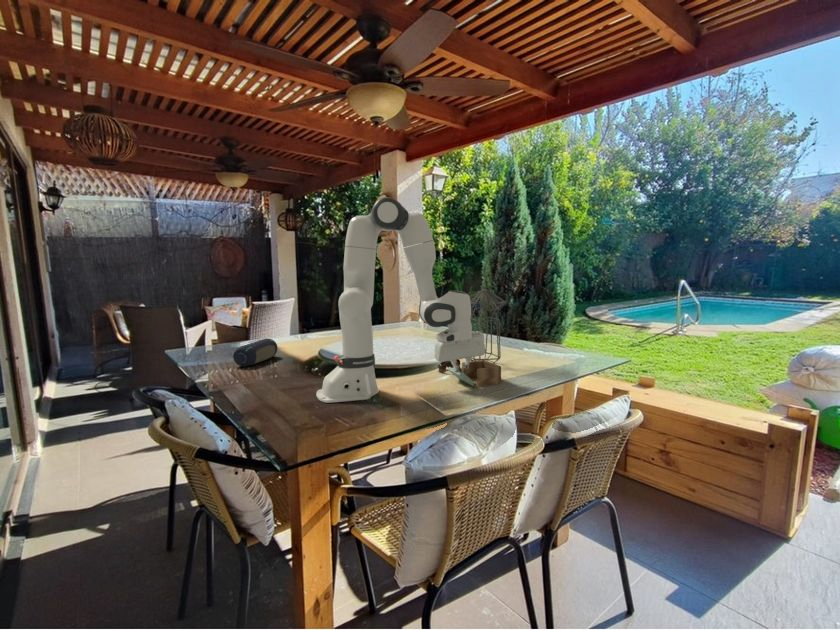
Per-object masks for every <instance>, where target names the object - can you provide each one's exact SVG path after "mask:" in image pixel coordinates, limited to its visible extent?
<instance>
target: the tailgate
mask: <svg viewBox="0 0 840 630" xmlns="http://www.w3.org/2000/svg"><path fill="white" fill-rule="evenodd" d="M447 370H448V371H449V373H451V374H452V375H454V377H456V378H457V379H458V380H459V381H461V382H463V383H466V384H467V385H470V386H471V387H473V388H476V387H477V386H476V385H477V384H475V383H474V382H473V381H472V380H471V379H470V378H469V377H467V376H466V375H465V374H464V373H462V372H459V371H454V368H451V367H449V368H448V367H447Z"/></svg>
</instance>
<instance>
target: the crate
mask: <svg viewBox="0 0 840 630" xmlns="http://www.w3.org/2000/svg"><path fill="white" fill-rule="evenodd" d="M465 362H466V361H464V362H461V371H462V373H464V374H465V375H466V376H467V377H469V378H470V379H471V380H472V381H473V382H474V383H475V384H477V385H476V386H475V387H477V388H481V387H487V386H492V385H499V384H502V366H501V365H499V364H496V363H495V364H493V362H490V361H488V360H487V361H486V360H476V361H470V363H469V369H466V370H465V369H463V364H465Z"/></svg>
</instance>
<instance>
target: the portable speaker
mask: <svg viewBox="0 0 840 630" xmlns="http://www.w3.org/2000/svg"><path fill="white" fill-rule="evenodd" d="M277 352H278V343H277V342H276V341H275V340H274V339H271V338H263V339H260V340H257V341H254V342H250V343H247V344H245V345H244V344H243V345H241V346H239V347H238V348H237V349H236V350H235V351H234V352H233V357H232V358H233V361H234V362H235V364H236V365H237V366H240V367H243V368H244V367H245V368H247V367H251V366H254V365H256V364H258V363H261V362H265V361H266V360H269V359H271V358H273V357H274V356H276V355H277Z"/></svg>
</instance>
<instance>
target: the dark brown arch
mask: <svg viewBox="0 0 840 630" xmlns="http://www.w3.org/2000/svg"><path fill="white" fill-rule="evenodd" d="M439 363H440V364H438V365H437V368H438V373H442V372H447V369H448V368H449V367H451V368H453V369H454V367H453V365H452V363H451V361H445V362H439ZM456 365H457V366H459V372H462V367H461V359H457V360H456Z"/></svg>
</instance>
